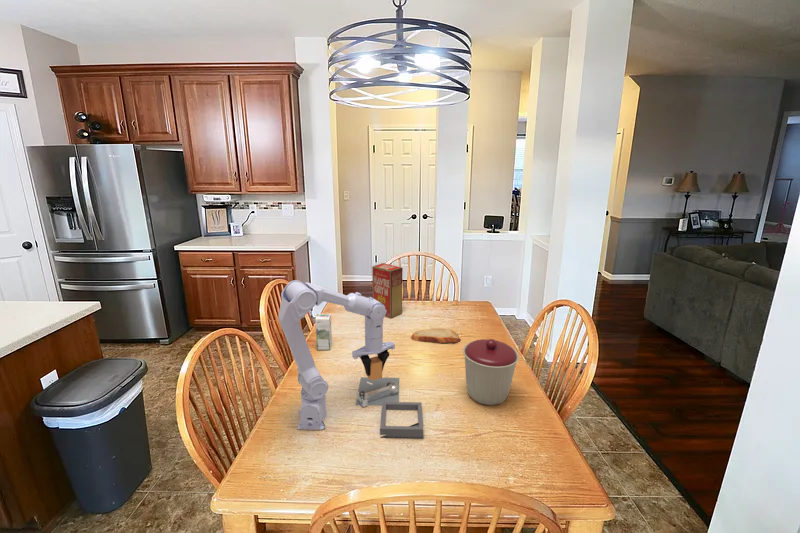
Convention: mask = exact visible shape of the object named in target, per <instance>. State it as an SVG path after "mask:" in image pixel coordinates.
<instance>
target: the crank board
mask: <svg viewBox="0 0 800 533" xmlns="http://www.w3.org/2000/svg"><path fill="white" fill-rule="evenodd" d="M391 383H396V384H397V385H398V394H397V395H388V396H385V397H382V398H379V399H376V400H373V401H370V402H368V406H371V407H372V406H377V407H380V406H381V407H382V402H400V377H382V378H379V379H376V380H372V381H371V380H370V379H369V378H368V376H366V377H362V376H361V377H360V380H359V384H358V389H357V392H360V391H364V392H365V393H368V392H371V391H374V390H377V389H380V388H384V387H387V386H389V384H391ZM355 406H362V405H361V404H360V403H359V401H358V400H357V398H356V399H355Z"/></svg>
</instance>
